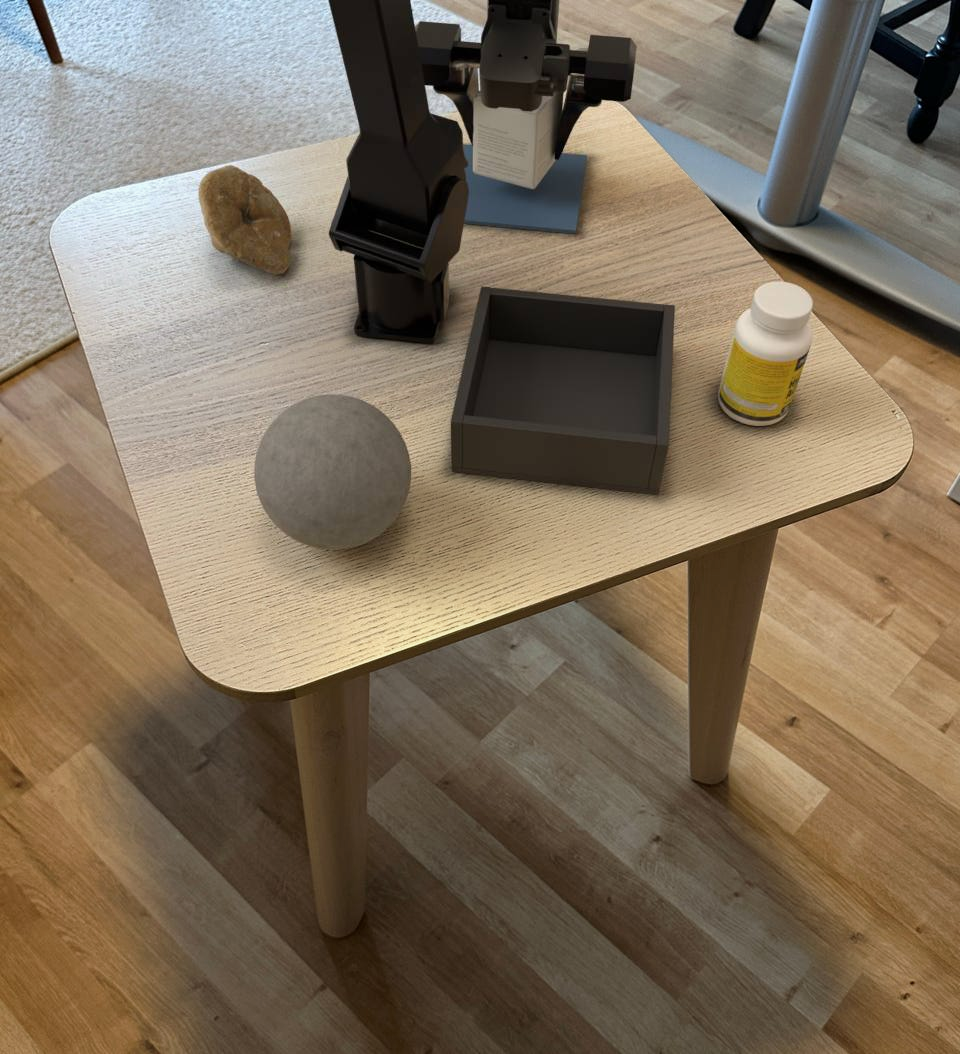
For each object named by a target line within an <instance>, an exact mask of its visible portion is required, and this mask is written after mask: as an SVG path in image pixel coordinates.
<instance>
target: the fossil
mask: <svg viewBox="0 0 960 1054" xmlns="http://www.w3.org/2000/svg"><path fill="white" fill-rule="evenodd" d="M197 196H198V203H199V206H200V209H201V215H202V216H203V221H204V222H203V223H204V226H205V229H206V230H207V233H208V234H209V236H210V241H211V244H212V246H213V247H214V248H215V250H216V251H217V252H219V253H222V254H226V255H228V256H230V257H231V258H232V259H234V260H237V261H239V262H241V263H244V264H246V265H249V266H251V267H253V268H255V269H257V270H260V271H261V272H263V273H265V274H268V275H271V276H272V275H281V274H284V273H285V272H286V271H288V270H289V268H290V266H291V259H292V258H291V253H290V250H289V247H290V244H291V242H292V238H293V236H292V233H293V232H292V231H293V230H292V226H291V221H290V219H289V215H288V214H287V211H286V210H285V208H284V207H283V206H282V204H281V203H280V200H279V199H278V198H277V197H276V196H275V195H274V194H273V192H272V191H271V190H270V189H269V188H268V187H266V186H265V185H263V182H262V181H261V180H260V179H259V178H258V177H256V176H255V175H254V174H250V173H248V172H246V171H245V170H244V169H243V170H242V169H240V168H239V167H238V166H234V165H231V164H229V165H225V166H223V167H219V168H216V169H213V170H210V171H209V172H207V173H206V174H205V175H204V176H203V177H202V178H201V180H200V182H199V186H198V192H197Z"/></svg>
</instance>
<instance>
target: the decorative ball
mask: <svg viewBox="0 0 960 1054" xmlns="http://www.w3.org/2000/svg"><path fill="white" fill-rule="evenodd" d="M253 473H254V485H255V491H256V494H257V496H258V499H259V502H260V504H261V507H262V508H263V511H264V512H265V514H266V515H267V517H268V518H269V519H270V520H271V521H272V523H273V524H274V525H275V526H276V527H277V528H278V529H279V530H280V531H281V532H282V533H284V534H285V535H286V536H287V537H289V538H290V539H293V540H294V541H296V542H297V543H299V544H303V545H305V546H308V547H310V548H314V549H319V550H324V551H325V550H327V551H328V550H329V551H342V550H348V549H353V548H356V547H359V546H362V545H364V544H367V543H369V542H371V541H373V540H375V539H377V538H378V537H379V536H380V535H382V534H384V532H385V531H387V530H388V529H389V527H391V526H392V524H393V523H394V522H395V521H396V520H397V518H398V517H399V515H400V514H401V512H402V511H403V508H404V506H405V505H406V502H407V499H408V496H409V494H410V493H409V492H410V489H411V483H412V462H411V458H410V453H409V450H408V447H407V444H406V441H405V440H404V438H403V435H402V434H401V432H400V430H399V429H398V427H397V426H396V425H395V423H394V422H393V421H392V420H391V419H390V417H388V416H387V415H386V414H385V413H384V412H383V411H382V410H380V409H379V408H378V407H376V406H374V405H373V404H371V403H369V402H367V401H365V400H362V399H361V398H357V397H354V396H351V395H346V394H345V395H344V394H337V393H336V394H331V393H329V394H319V395H314V396H310V397H307V398H304V399H302V400H300V401H297V402H295V403H294V404H291V405H290V406H289V407H287V408H285V409H284V410H283V411H282V412H280V413H279V414H278V415H277V417H275V419H273V420H272V422H271V423H270V424H269V426H268V427H267V429H266V430H265V432H264V433H263V436H262V437H261V439H260V442H259V444H258V447H257V450H256V454H255V460H254V472H253Z"/></svg>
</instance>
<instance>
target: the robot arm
mask: <svg viewBox="0 0 960 1054" xmlns="http://www.w3.org/2000/svg"><path fill="white" fill-rule="evenodd" d="M327 1H328V5H329V10H330V13H331V18H332V22H333V25H334V29H335V33H336V38H337V42H338V46H339V50H340V54H341V58H342V62H343V66H344V70H345V74H346V79H347V83H348V86H349V87H348V88H349V90H350V91H349V92H350V95H351V100H352V104H353V106H354V110H355V115H356V119H357V123H358V128H359V134H358V135H357V137H356V139H355V142H354V143H353V146H352V148H351V150H349V153H348V155H347V157H346V159H345V163H346V171H347V177H346V180H345V183H344V185H343V189H342V192H341V195H340V198H339V200H338V203H337V207H336V209H335V213H334V215H333V218H332V221H331V224H330V227H329V230H328V237H329V239H330V242H331V243H332V245H333V246H332V247H334V249H335V250H336V251H339V252H345V253H348V254H351V255H353V266H354V267H353V268H354V276H355V277H354V278H355V288H356V298H357V308H358V313H357V317H356V320H355V323H354V325H353V331H354V334H355V335H356V336H359V337H368V338H378V339H388V340H396V341H397V340H398V341H406V342H417V343H427V344H431V343H434V342H435V341H436V338H437V335H438V330H439V327H440V324H442V323H443V322H445V320H446V317H447V312H448V309H449V304H450V271H449V269H450V268H449V267H450V266H449V265H450V264H449V263H450V262H452V260H453V259H454V257H455V256H456V255H457V254H458V253H459V252H460V250H461V244H462V238H463V237H462V236H463V231H464V225H465V224H464V221H465V215H466V209H467V203H468V196H469V187H468V183H467V181H466V174H465V170H464V168H466V167H467V166H468V161H467V160H466V158H465V155H464V151H463V144H464V133H463V130H462V128H461V126H460V124H459V121H457V120H455V119H451V118H447V117H445V116H442V115H438V114H434V113H431V111H430V107H429V100H428V95H427V89H426V86H427V87H428V86H430V87H432V89H433V91H434V93H435V94H438V95H443V96H446V97H447V98H448V99H450V100H451V102H453V104H454V106H455V107H456V110H457V112H458V113H459V116H460V118H461V120H462V123H463V126H464V128H465V131H466V135H467V137H468V139H469V142H470V145H472V147H473V116H474V96H475V95H476V94H477V93H478V92H479V91H480V95H481V102H482V104H483V105H484V106H486V107H488V108H493V109H497V108H499V107H503V108H514V109H520V110H522V111H534V110H536V109H537V108H539V106H540V105H541V101H542V96H551V97H553V95H554V93H555V92H564V93H565V97H564V100H563V110H562V115H561V120H560V124H559V129H558V134H557V139H556V145H555V157H554V159H555V160H559V158H560V156H561V154H562V153H564V152H563V151H564V149H565V147H566V146H567V142H568V140H569V138H570V136H571V133H572V131H573V130H574V127H575V126H576V124H577V122H578V120H579V119H580V117H581V115H582V114H583V113H584V111H586V110H587V109H588V108H598V107H600V106H601V105H602V103H603V101H607V102H618V103H619V102H620V103H625V102H627V101H629V100H631V99H632V92H633V83H634V76H635V68H636V67H635V66H636V58H637V47H638V46H637V45H636V43H635V41H633V39H632V37H628V36H627V37H625V36H615V35H601V34H600V35H599V34H589V35H590V36H589V41H588V46H587V47H580V48H577V49H571V46H570V44H567V43H558V42H557V41H558V29H559V11H560V0H486V21H485V24H484V26H483V29H482V31H481V32H482V33H481V37H480V42H478V41H477V42H476V41H465V40H462V28H461V25H460V23H449V22H435V21H424V20H423V21H422V20H420V21H418V23H417V24H415V19H414V14H413V6H412V2H411V0H327ZM478 69H479V70H478Z"/></svg>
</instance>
